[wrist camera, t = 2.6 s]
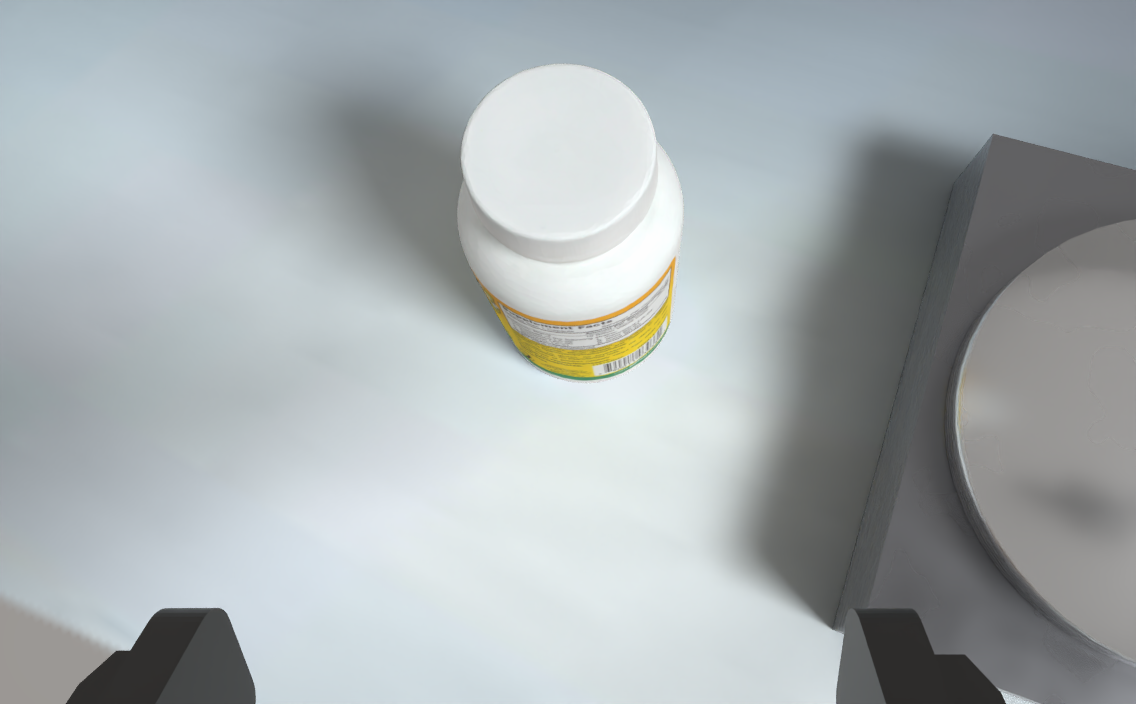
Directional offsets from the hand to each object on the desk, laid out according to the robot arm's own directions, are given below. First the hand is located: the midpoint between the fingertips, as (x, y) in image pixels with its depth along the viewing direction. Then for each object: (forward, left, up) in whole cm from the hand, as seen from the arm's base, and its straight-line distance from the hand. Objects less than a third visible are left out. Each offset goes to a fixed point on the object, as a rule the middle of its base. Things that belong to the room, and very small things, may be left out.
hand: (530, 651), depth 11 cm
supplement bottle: (0, -9, -13) cm, 16 cm away
